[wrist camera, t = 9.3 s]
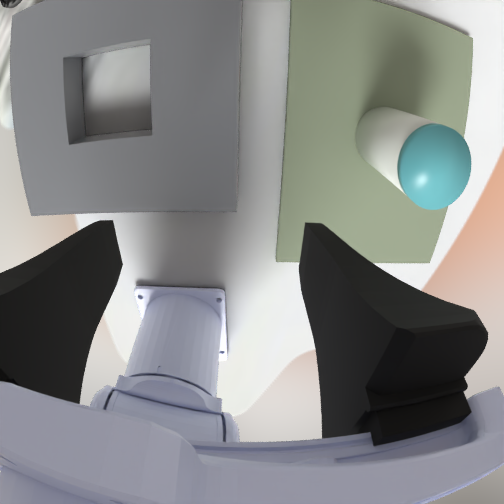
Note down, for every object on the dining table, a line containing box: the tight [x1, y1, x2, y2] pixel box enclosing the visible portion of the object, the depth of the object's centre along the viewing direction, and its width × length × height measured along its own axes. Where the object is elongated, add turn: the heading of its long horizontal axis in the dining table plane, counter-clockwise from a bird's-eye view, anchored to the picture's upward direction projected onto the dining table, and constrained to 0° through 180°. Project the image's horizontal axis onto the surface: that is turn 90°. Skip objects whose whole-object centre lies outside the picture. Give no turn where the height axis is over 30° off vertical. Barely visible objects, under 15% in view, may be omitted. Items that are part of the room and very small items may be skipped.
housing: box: [10, 0, 242, 216], centre depth 16 cm, size 16×16×2 cm
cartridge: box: [355, 107, 471, 210], centre depth 15 cm, size 4×4×7 cm
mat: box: [276, 0, 473, 263], centre depth 18 cm, size 20×14×1 cm
